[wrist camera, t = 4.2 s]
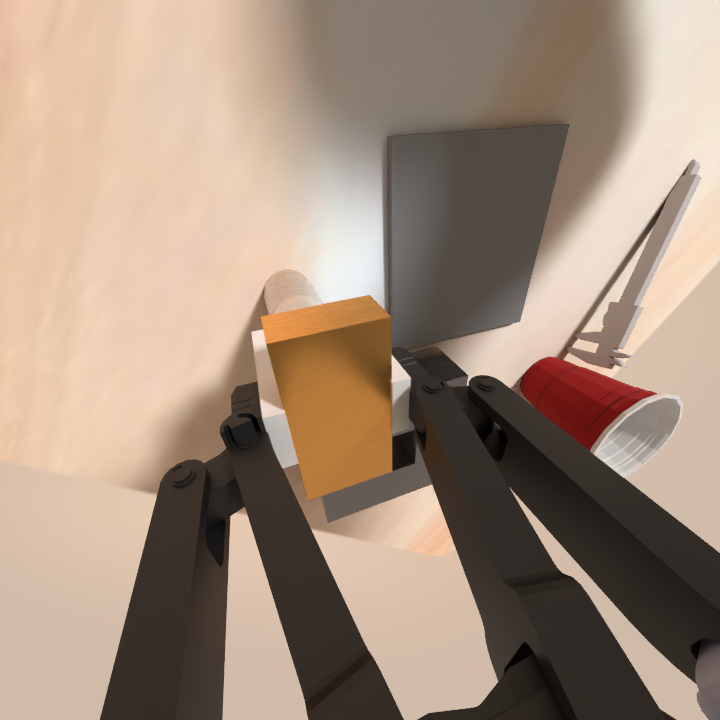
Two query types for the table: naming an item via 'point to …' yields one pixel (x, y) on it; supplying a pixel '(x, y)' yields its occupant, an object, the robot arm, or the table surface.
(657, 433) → the plastic cup
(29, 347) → the table surface
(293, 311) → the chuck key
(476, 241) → the key mat
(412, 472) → the block
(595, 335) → the caliper
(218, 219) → the table surface
